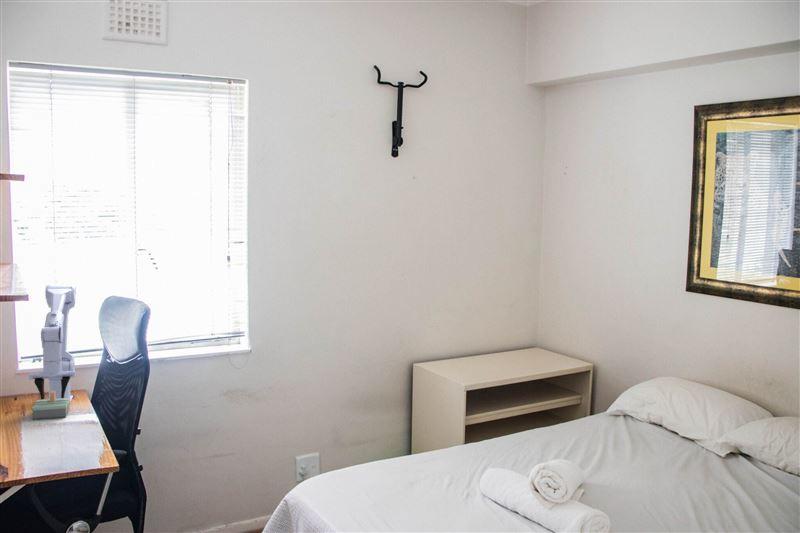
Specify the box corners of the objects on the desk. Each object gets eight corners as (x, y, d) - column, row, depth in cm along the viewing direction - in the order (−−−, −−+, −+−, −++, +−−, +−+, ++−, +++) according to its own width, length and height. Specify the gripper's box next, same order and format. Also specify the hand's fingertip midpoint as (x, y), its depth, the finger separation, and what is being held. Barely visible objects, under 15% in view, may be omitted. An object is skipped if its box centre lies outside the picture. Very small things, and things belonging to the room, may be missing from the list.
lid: (37, 404, 232) (37, 391, 232) (70, 402, 236) (70, 389, 236) (32, 412, 223) (31, 398, 222) (66, 410, 226) (66, 396, 226)
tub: (38, 411, 233) (38, 402, 232) (69, 409, 236) (69, 400, 236) (32, 419, 223) (32, 410, 223) (65, 417, 227) (65, 408, 226)
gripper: (26, 363, 225) (27, 402, 226) (73, 361, 230) (74, 399, 231) (30, 359, 231) (31, 397, 232) (76, 357, 236) (76, 394, 237)
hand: (52, 398), depth 232 cm, fingers open, 6 cm apart
